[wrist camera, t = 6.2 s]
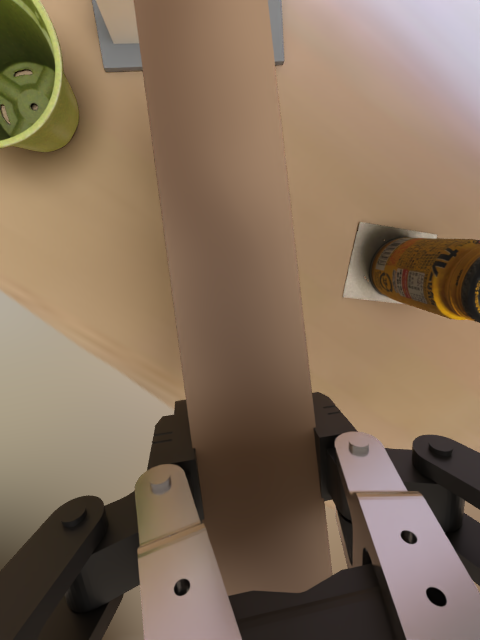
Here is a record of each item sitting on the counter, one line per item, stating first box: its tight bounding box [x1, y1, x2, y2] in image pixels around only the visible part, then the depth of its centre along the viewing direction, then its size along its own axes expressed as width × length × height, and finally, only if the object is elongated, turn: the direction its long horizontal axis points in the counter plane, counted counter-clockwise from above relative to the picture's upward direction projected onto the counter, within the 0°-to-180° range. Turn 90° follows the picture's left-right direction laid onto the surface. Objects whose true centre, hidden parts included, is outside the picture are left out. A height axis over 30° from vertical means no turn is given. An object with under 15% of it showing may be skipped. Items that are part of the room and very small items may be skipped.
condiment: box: [343, 222, 480, 323], centre depth 27 cm, size 7×8×12 cm
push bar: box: [134, 0, 332, 596], centre depth 12 cm, size 4×24×5 cm, turn 5°
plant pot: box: [0, 0, 79, 152], centre depth 21 cm, size 9×9×9 cm
